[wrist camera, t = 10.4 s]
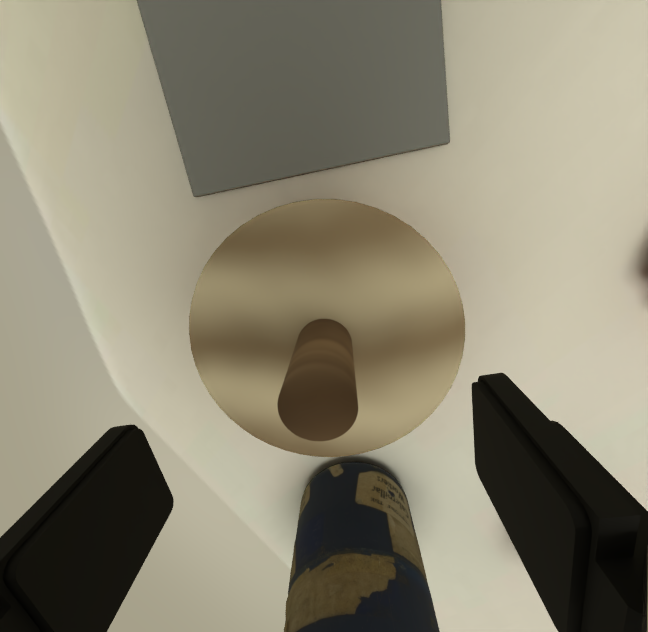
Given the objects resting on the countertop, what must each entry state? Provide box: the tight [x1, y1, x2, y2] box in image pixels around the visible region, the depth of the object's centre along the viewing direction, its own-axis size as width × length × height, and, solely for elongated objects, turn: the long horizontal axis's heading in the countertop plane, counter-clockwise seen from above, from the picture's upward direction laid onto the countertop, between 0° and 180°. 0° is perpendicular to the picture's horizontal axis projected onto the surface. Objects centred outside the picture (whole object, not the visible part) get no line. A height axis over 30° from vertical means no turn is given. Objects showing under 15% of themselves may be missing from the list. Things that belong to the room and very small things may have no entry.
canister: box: [284, 462, 439, 632], centre depth 21 cm, size 10×10×18 cm
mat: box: [137, 0, 450, 197], centre depth 19 cm, size 17×17×1 cm
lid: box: [189, 199, 465, 457], centre depth 15 cm, size 15×15×7 cm
